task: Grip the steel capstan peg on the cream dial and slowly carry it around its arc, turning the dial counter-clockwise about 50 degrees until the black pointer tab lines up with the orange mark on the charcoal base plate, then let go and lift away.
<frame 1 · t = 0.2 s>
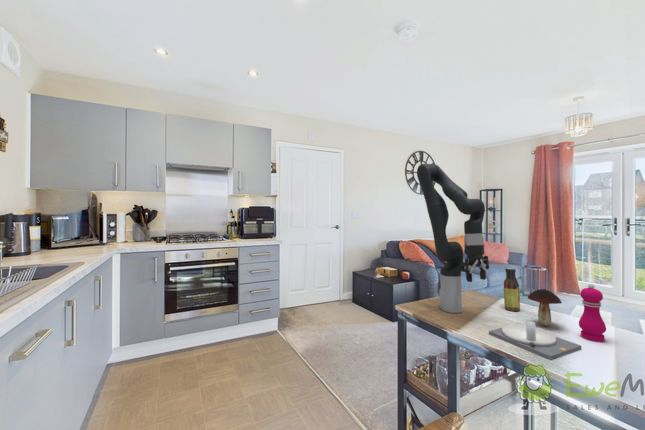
hand: (476, 280, 121), 17 cm above the table, tool pointing down, fingers open, 8 cm apart
pepper mill: (592, 338, 102), on the table
decorative mushroom: (544, 326, 114), on the table
cam dial: (527, 326, 101), point 5 cm above the table, hinge at -50.0°
sauce bottle: (512, 310, 133), on the table
dial base: (532, 341, 100), on the table
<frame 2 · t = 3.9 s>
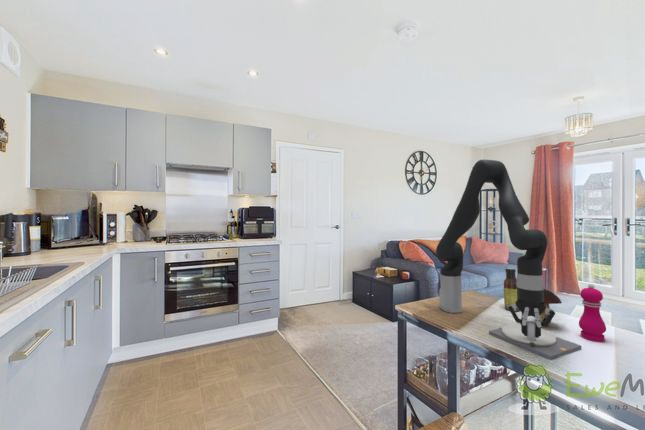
hand: (531, 335, 96), 4 cm above the table, tool pointing down, fingers closed on cam dial, 2 cm apart
cam dial: (527, 326, 101), point 5 cm above the table, hinge at -50.0°, touching gripper
everything else where it was.
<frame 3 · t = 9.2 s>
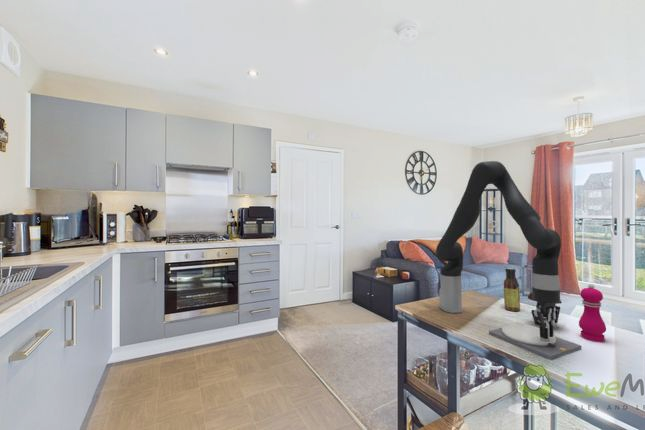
hand: (546, 336, 95), 4 cm above the table, tool pointing down, fingers closed on cam dial, 2 cm apart
cam dial: (529, 326, 101), point 5 cm above the table, hinge at -11.2°, touching gripper
everything else where it was.
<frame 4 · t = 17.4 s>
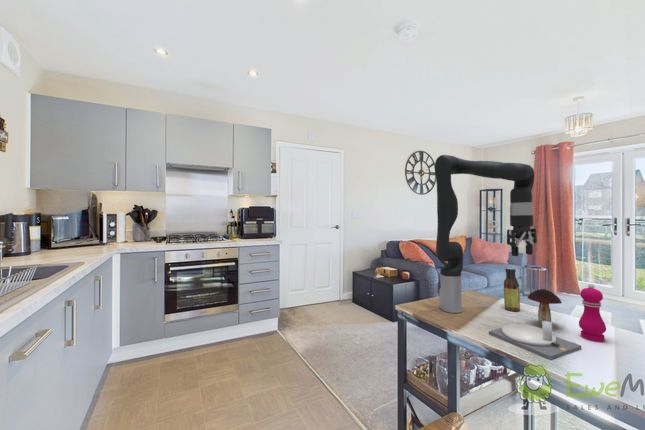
hand: (522, 255, 109), 30 cm above the table, tool pointing down, fingers open, 8 cm apart
cam dial: (530, 326, 101), point 5 cm above the table, hinge at -0.5°
everything else where it was.
at the end: cam dial at +0° (first picture: -50°); the gripper is holding nothing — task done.
